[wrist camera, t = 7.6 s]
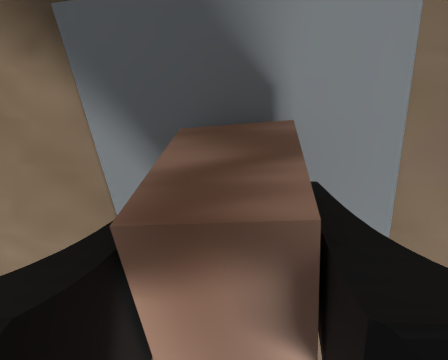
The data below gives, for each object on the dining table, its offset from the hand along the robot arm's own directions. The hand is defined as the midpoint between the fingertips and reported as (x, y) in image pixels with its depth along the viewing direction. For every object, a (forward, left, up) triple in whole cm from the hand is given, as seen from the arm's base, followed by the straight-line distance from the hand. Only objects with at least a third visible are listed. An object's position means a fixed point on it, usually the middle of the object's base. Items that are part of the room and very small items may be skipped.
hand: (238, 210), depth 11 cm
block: (0, 0, -2) cm, 2 cm away
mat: (0, 0, -3) cm, 3 cm away
